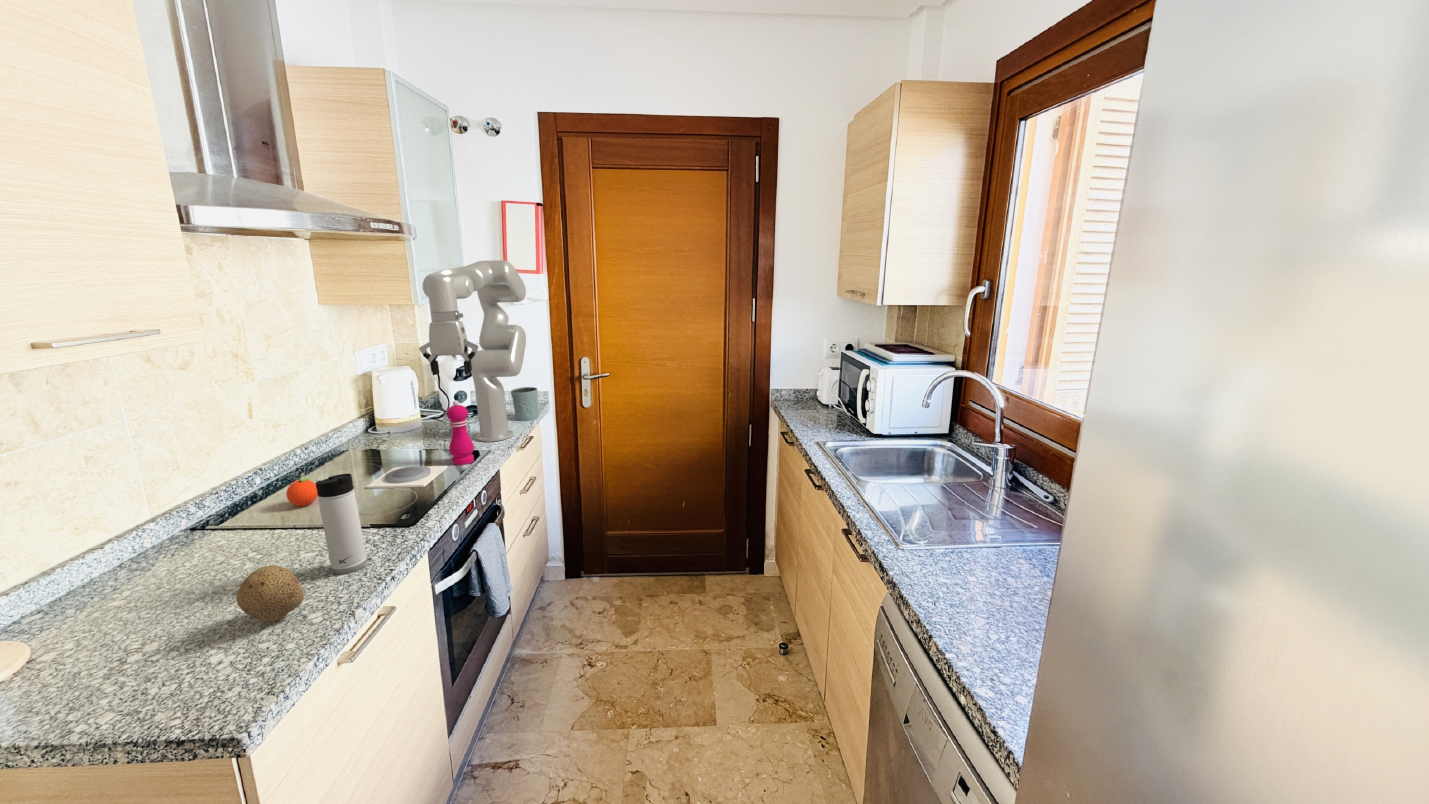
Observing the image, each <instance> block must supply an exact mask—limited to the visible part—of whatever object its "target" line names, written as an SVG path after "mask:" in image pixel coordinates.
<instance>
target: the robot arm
mask: <svg viewBox="0 0 1429 804" xmlns="http://www.w3.org/2000/svg"><path fill="white" fill-rule="evenodd" d="M422 291H423V293H424V294H425V296H426V297H427V298H428V300H429V301H428V303H429V311H430V319H431V322H429V327H428V329H429V330H428V342H427V343H425V344H423V345H421V346H420V347H419V348H418V349H419V351H420V352H421V354H422V355H423V357H424V359H426V360H427V362H429V364H430V365H429V366H430V371H431V373H432V375H433V376H436V375H439V374H440V367H439V360H437V359H438V357H440V356H441V357H442V356H443V357H444V356H460V357H462V359H464V361H463V367H464V368H463V370H464V374H465V375H469V374H471V376H472V380H473V385H474V391H475V400H476V408H477V417H478V418H477V419H478V424H479V426H478V427H479V433H478V434H476V435H475V439H476V441H479V442H485V443H488V442H489V443H490V442H499V441H504V440H508V439H510V438H511V437H513V436H514V432H513V430H510V429H509V421H508V417H507V416H508V415H507V407H506V397H505V389H504V385H503V383H501V381H500V380H499V379H498V378H505V377H506V378H507V377H508V378H509V377H516V376H518V375H520V373H521V370H522V367H523V361H524V355H525V350H526V344H527V337H526V336H527V335H526V332H525V329H524V328H523V327H522V326H521V325H518V324H509V320H510V319H509V316H508V314H507V312H506V311H505V310H504V308H503V307H501V306H500V305H499V303H520V302H522V301H523V300H524V299H525V298H526V297H527V296H526V295H527V289H526V286H525V283H524V281H523V280H522V278H521V276H520V274H519V273H518V271H517V270H516V268H515V266H513V265H512V264H511V262H509V261H507V260H504V259H501V260H495V259H494V260H480V261H479V260H478V261H475V262H473V263H470V264H467V265H464V266H458V267H455V268H449V269H444V270H439V271H435V272H432V273H429V274H427V275H426V276H425V277H424V278H423V282H422ZM474 292H476V294H477V296H478V297H477V298H478V301H479V303H480V306H481V308H482V313H483V318H482V319H483V321H482V325H481V329H480V333H479V337H478V338H479V340H478V344H479V345H477V344H475V343H473V342H471V341H469V340H468V337H467V333H466V329H465V326H464V323H463V320H462V321H461V320H460V319H463V318H464V314H463V312H460V311H459V309H458V308H459V306H458V301H457V300H463V299H464V300H465V299H467V298H469V297H471V296H472V294H473V293H474ZM479 346H480V348H481V350H478V349H479ZM428 348H429V351H430V353H429V352H428ZM469 349H471V351H470V352H469Z"/></svg>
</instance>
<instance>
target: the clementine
mask: <svg viewBox="0 0 1429 804" xmlns="http://www.w3.org/2000/svg"><path fill="white" fill-rule="evenodd" d="M314 481H317V479H315V478H314ZM315 483H316V482H313V480H312V478H311V477H310V478H303V479H302V478H301V479H298V480H295V481H293V482H292V483H291V484H289V486H288V488H287V489H286V493H285V494H286V498H287V500H288V502H289V503H290V504H292V505H294V506H296V507H306V506H309V505H311V504H313V503H314V502H315V501H316V500H317V499H318V496H317V495H318V494H317V489H316V484H315Z"/></svg>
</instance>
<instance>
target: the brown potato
mask: <svg viewBox="0 0 1429 804" xmlns="http://www.w3.org/2000/svg"><path fill="white" fill-rule="evenodd" d="M304 592H305V591H304V590H303V587H302V584H301V583H300V581H299V580H298V578H297V577H296V575H295V574H294V573H293V572H292V571H291V570H289V569H288V568H286V567H284V566H279V565H278V566H277V565H264V566H262V567H259V568H257V569H255V570H254V571H252V572H251V573H250V574H249V575H247V577H245V579H244V580H243V581H242V582H241V584H240V585H239V587H238V590H237V592H236V593H237V594H236V603H237V606H238V607H239V608H240V609H241V611H242V612H244V613H245V614H246V615H248V616H250V617H251V618H253V619H255V620H257V621H259V622H263V623H274V622H277V621H280V620H282V619H283V618H285V617H286V616H287V615H288V614H289V613H291V612H292V611H294V610H295V609H297V608H298V607H299V606H300V605H301V604H302V603H303V601H304V599H305V597H304V596H305V594H304Z"/></svg>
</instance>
